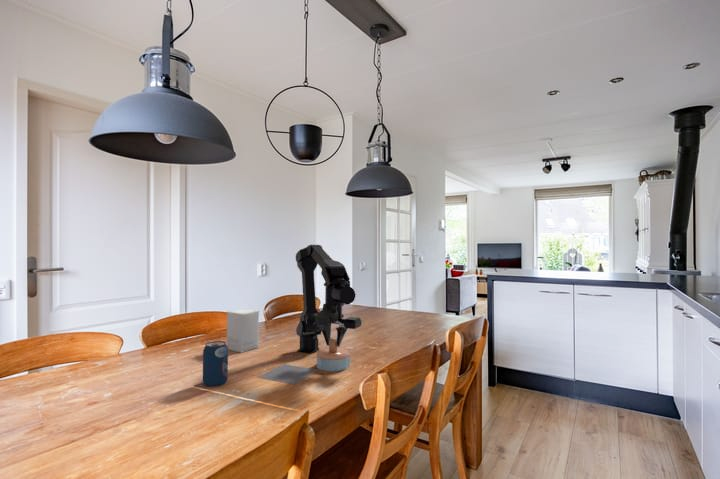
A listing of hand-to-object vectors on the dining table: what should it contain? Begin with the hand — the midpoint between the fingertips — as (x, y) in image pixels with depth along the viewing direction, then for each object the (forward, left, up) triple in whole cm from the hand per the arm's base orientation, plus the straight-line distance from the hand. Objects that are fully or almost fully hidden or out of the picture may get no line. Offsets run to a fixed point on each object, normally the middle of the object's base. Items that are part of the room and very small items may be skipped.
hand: (333, 346), depth 127 cm
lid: (0, 0, -3) cm, 3 cm away
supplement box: (-43, +4, -7) cm, 44 cm away
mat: (-9, -13, -7) cm, 17 cm away
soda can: (-24, -29, -7) cm, 38 cm away
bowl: (0, 0, -7) cm, 7 cm away
